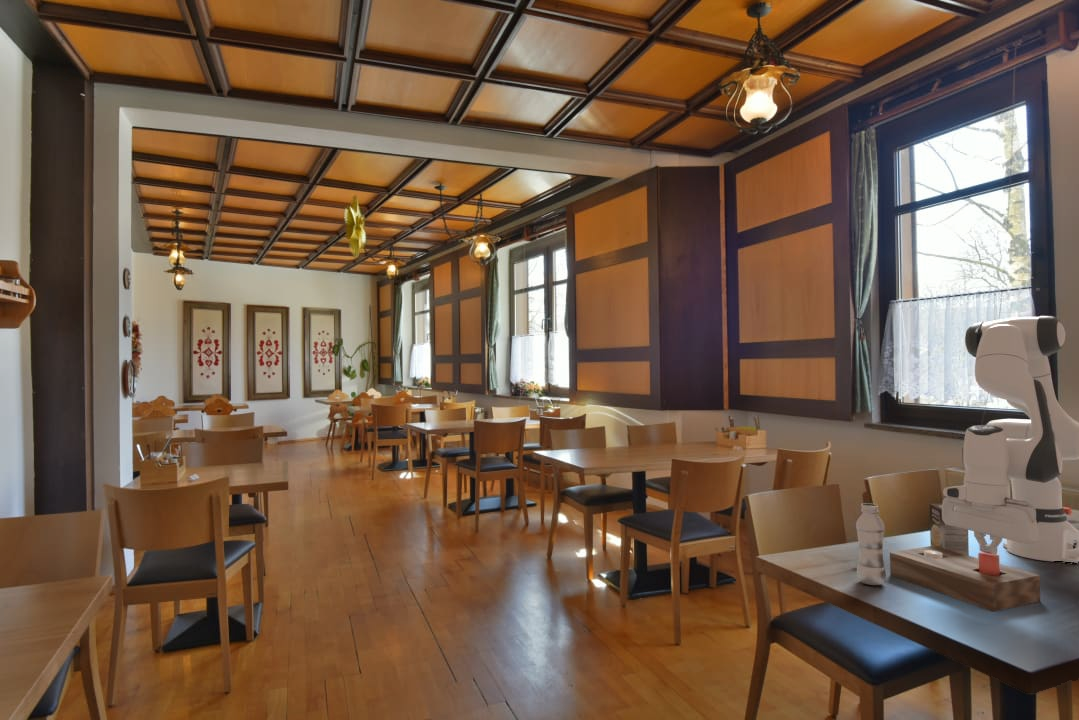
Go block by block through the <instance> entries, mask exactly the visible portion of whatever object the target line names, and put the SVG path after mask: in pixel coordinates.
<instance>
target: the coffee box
mask: <svg viewBox="0 0 1079 720" xmlns="http://www.w3.org/2000/svg"><path fill="white" fill-rule="evenodd" d="M929 529H930V530H929V532H930V533H929V535H930V546H936V547H940V548H944V549H947V550H951V551H954V552H958V553H961V554H965V555H969V554H970V553H969V552H970V550H969V546H970V545H969V530H966V529H962V528H958V527H954V526H950V525H946V524H945V523H944V521H943V520H942V503H929ZM969 556H970V555H969Z"/></svg>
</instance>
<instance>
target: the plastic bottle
mask: <svg viewBox="0 0 1079 720" xmlns="http://www.w3.org/2000/svg"><path fill="white" fill-rule="evenodd" d="M878 507H879V506H878V504H876V503H871V502H870V503H867V502H866V503H861V509H860V510H861V512H862V513H861V515H860V516H859V517H858V519H857V520H856V523H855V526H856V527H855V528H856V533H857V540H858V562H857V565H856V576H857V579H858V581H859V582H861V583H862V584H864V585H870V586H881V585H884V583H885V581H886V578H887V574H886V573H887V572H886V568H885V566H884V565H885V564H884V563H885V561H884V555H883V554H884V553H883V550H884V549H883V547H884V546H883V545H884V537H885V528H886V527H885V524H884V522H883V520H882V518H880V516H879V515H878V514H879V508H878Z"/></svg>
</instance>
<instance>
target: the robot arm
mask: <svg viewBox="0 0 1079 720" xmlns="http://www.w3.org/2000/svg"><path fill="white" fill-rule="evenodd" d="M964 336H965V337H964V344H965V347H966V350H967V352H968V354H969V355H971V356H972V357H974V358H975V362H974V379H975V382H976V383H977V385H978V386H979V387H980V389H982V390H983V391H984V392H986V394H987V393H988V394H989V395H992V396H993V397H996V398H999V399H1002V400H1005V401H1006V402H1007V403H1008V405H1010V406H1011V407H1013V408H1015V409H1017V410H1019V411H1021V412H1023V413H1024V414H1025V415H1026V416H1027V417H1028V418H1029V419H1027V418H1026V419H1025V418H1001V419H1000V418H999V419H993V420H990V421H988V422H987V423H986V424H980V425H979V424H978V425H972V426H970V427H967V428H966V430H965V433H964V434H965V435H964V440H963V446H962V450H961V451H962V452H961V456H962V457H961V458H962V465H963V466H964V469H965V474H964V476H963V484H958V485H956V486H955V485H954V486H947V487H944V488H943V496H945V497H944V498H943V500H942V503H941V504H942V520H943V521H944V523H945V524H946V525H950V526H954V527H958V528H962V529H966V530H968V531H972V532H973V536H974V538H975V540H976V541H977V543H978V545H979V552H985V553H989V554H993V555H994V554H996V555H998V546H999V545H1000V544H1001V543H1002V542H1003V539H1005V540H1006V541H1005V542H1003V543H1002V546H1003V547H1004V548H1005V549H1006V550H1007V552H1008V553H1010V554H1013V555H1015V556H1019V557H1023V558H1026V559H1031V560H1037V561H1045V562H1054V561H1067V562H1078V561H1079V530H1078V529H1077V528H1076V527H1074V526H1073V525H1072V524H1071V523H1070V522H1069V521H1068V518H1067V516H1071V515H1072V513H1073V510H1072V508H1071V507H1065V506H1063V503H1062V502H1063V501H1062V500H1063V499H1062V497H1063V496H1062V493H1063V492H1062V483H1061V481H1060V479H1059V478H1058V477H1059V476H1061V474H1062V471H1063V461H1071V460H1073V461H1076V460H1079V422H1078V421H1076V420H1075V419H1074V418H1072V417H1071V416H1070V415H1069V414H1068V413H1066V411H1065V410H1064V409H1063V407H1061V404H1059V402H1058V400H1057V397H1056V394H1055V389H1054V384H1053V379H1052V371H1051V365H1050V361H1049V357H1050V356H1051V355H1053V354H1056V353H1059V351H1060V350H1062V349H1063V347H1064V344H1065V340H1066V330H1065V328H1064V325H1063V324H1062V322H1061V320H1060V319H1058V318H1057V317H1055V316H1052V315H1040V316H1017V317H1010V318H1004V319H997V320H996V319H995V320H991V321H987V322H985V321H980V322H976V323H973V324H971V325H970V326H969V327H968V328H967V329H966V332H965V335H964ZM1009 478H1010V479H1009ZM1010 482H1011V483H1010ZM1010 484H1011V485H1010ZM1011 490H1012V498H1011ZM987 535H989V540H991V542H990V544H989V543H987V540H986V538H985V537H986V536H987Z"/></svg>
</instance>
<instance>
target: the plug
mask: <svg viewBox="0 0 1079 720" xmlns="http://www.w3.org/2000/svg"><path fill="white" fill-rule="evenodd" d="M924 556H927V557H930V558H933V559H939V558H942V553H941V552H938V551H933V550H925V551H924Z"/></svg>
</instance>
